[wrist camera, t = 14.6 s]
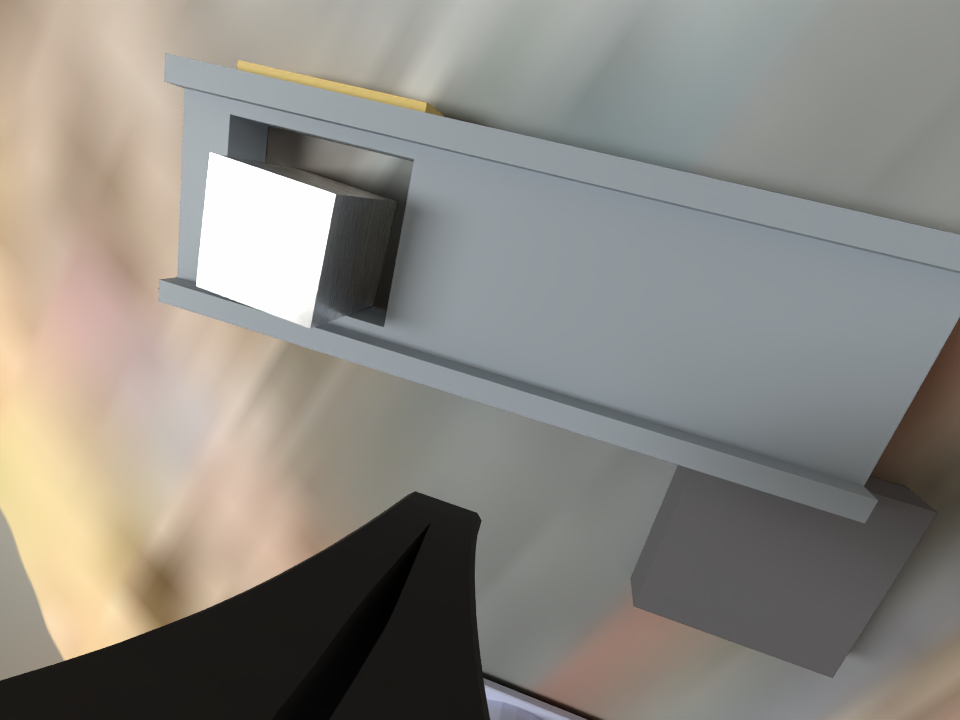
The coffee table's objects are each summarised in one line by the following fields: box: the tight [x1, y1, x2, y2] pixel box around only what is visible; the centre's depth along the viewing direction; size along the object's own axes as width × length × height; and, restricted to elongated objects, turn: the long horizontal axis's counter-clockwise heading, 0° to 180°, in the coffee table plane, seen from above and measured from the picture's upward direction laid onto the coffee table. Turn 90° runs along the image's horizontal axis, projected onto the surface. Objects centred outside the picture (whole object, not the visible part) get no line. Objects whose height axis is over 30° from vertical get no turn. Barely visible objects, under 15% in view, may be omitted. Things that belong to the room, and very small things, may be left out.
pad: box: [631, 465, 937, 678], centre depth 17 cm, size 7×7×2 cm
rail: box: [159, 53, 960, 523], centre depth 16 cm, size 9×24×3 cm, turn 76°
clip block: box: [196, 153, 397, 329], centre depth 16 cm, size 4×4×4 cm
